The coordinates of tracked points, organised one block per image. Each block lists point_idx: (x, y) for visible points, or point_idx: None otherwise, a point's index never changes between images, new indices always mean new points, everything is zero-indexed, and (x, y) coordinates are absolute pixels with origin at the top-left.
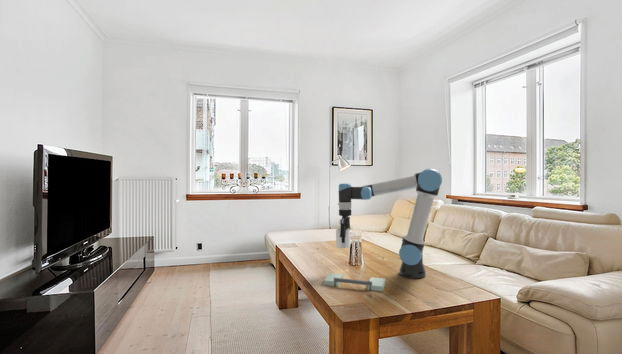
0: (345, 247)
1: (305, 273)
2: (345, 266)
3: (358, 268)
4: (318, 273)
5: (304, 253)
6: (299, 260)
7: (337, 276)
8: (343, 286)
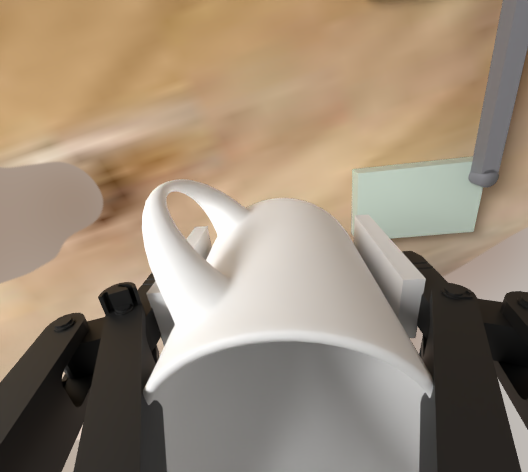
0: (371, 220)
1: None
2: None
3: (156, 147)
4: None
5: None
6: None
7: (400, 190)
8: (468, 129)
